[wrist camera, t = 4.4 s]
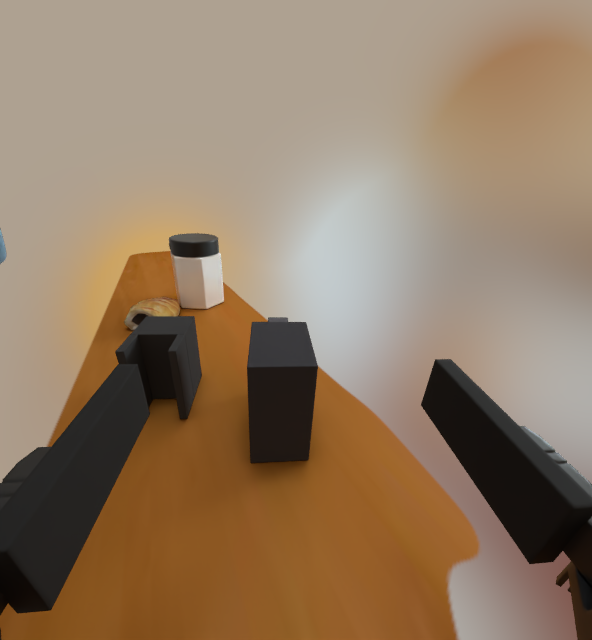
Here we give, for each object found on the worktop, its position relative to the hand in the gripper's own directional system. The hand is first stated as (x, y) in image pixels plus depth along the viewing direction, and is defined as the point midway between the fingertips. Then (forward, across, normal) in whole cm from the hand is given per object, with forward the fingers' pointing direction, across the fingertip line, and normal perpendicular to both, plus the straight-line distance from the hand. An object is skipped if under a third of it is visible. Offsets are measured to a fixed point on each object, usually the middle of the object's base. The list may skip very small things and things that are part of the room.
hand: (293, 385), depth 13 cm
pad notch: (+15, -12, -13) cm, 23 cm away
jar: (+42, -14, -13) cm, 46 cm away
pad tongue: (+11, 0, -13) cm, 18 cm away
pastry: (+33, -19, -13) cm, 41 cm away
